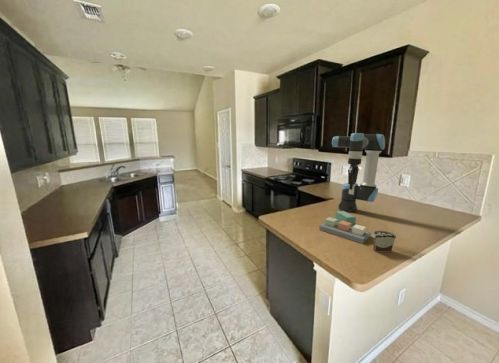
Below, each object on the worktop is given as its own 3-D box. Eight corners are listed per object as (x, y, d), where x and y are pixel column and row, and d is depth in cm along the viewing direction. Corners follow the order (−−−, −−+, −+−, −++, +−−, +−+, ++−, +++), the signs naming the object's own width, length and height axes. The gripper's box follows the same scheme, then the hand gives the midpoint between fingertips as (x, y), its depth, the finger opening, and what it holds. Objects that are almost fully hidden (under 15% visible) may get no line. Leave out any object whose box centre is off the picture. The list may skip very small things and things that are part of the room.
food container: (386, 246, 129) (389, 230, 127) (394, 251, 123) (396, 234, 121) (366, 246, 129) (368, 230, 126) (372, 251, 123) (374, 235, 120)
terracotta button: (341, 226, 149) (342, 220, 148) (350, 228, 145) (351, 223, 144) (337, 228, 145) (338, 222, 144) (347, 231, 141) (347, 225, 140)
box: (346, 227, 154) (347, 217, 153) (334, 220, 167) (335, 211, 166) (355, 226, 156) (356, 216, 155) (342, 219, 169) (343, 210, 167)
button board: (328, 223, 160) (328, 220, 160) (370, 236, 141) (370, 232, 140) (319, 229, 150) (319, 225, 150) (362, 243, 131) (363, 239, 131)
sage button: (328, 222, 155) (329, 217, 155) (337, 224, 151) (337, 219, 150) (325, 224, 151) (325, 219, 150) (333, 227, 147) (333, 221, 146)
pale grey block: (355, 230, 143) (356, 224, 142) (365, 233, 139) (366, 227, 138) (351, 232, 139) (352, 227, 138) (361, 235, 135) (362, 229, 134)
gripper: (352, 157, 146) (349, 191, 151) (344, 158, 137) (341, 194, 142) (364, 157, 141) (360, 193, 146) (357, 159, 132) (353, 196, 137)
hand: (351, 193), depth 144 cm, fingers closed
